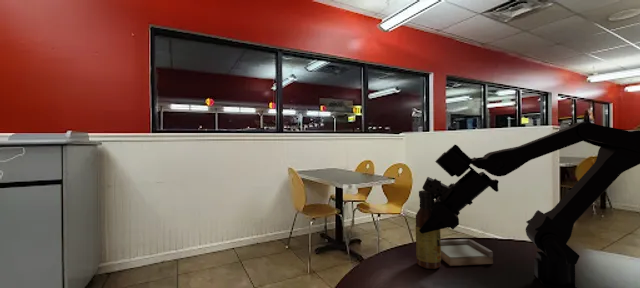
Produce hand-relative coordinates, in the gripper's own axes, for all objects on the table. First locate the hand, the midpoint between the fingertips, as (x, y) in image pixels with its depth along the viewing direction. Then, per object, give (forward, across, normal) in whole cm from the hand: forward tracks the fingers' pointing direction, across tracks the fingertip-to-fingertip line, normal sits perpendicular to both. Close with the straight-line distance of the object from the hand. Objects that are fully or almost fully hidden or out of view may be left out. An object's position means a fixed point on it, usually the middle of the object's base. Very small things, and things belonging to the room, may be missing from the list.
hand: (420, 228), depth 76 cm
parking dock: (0, -8, +14) cm, 17 cm away
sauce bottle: (+6, 0, +8) cm, 10 cm away
